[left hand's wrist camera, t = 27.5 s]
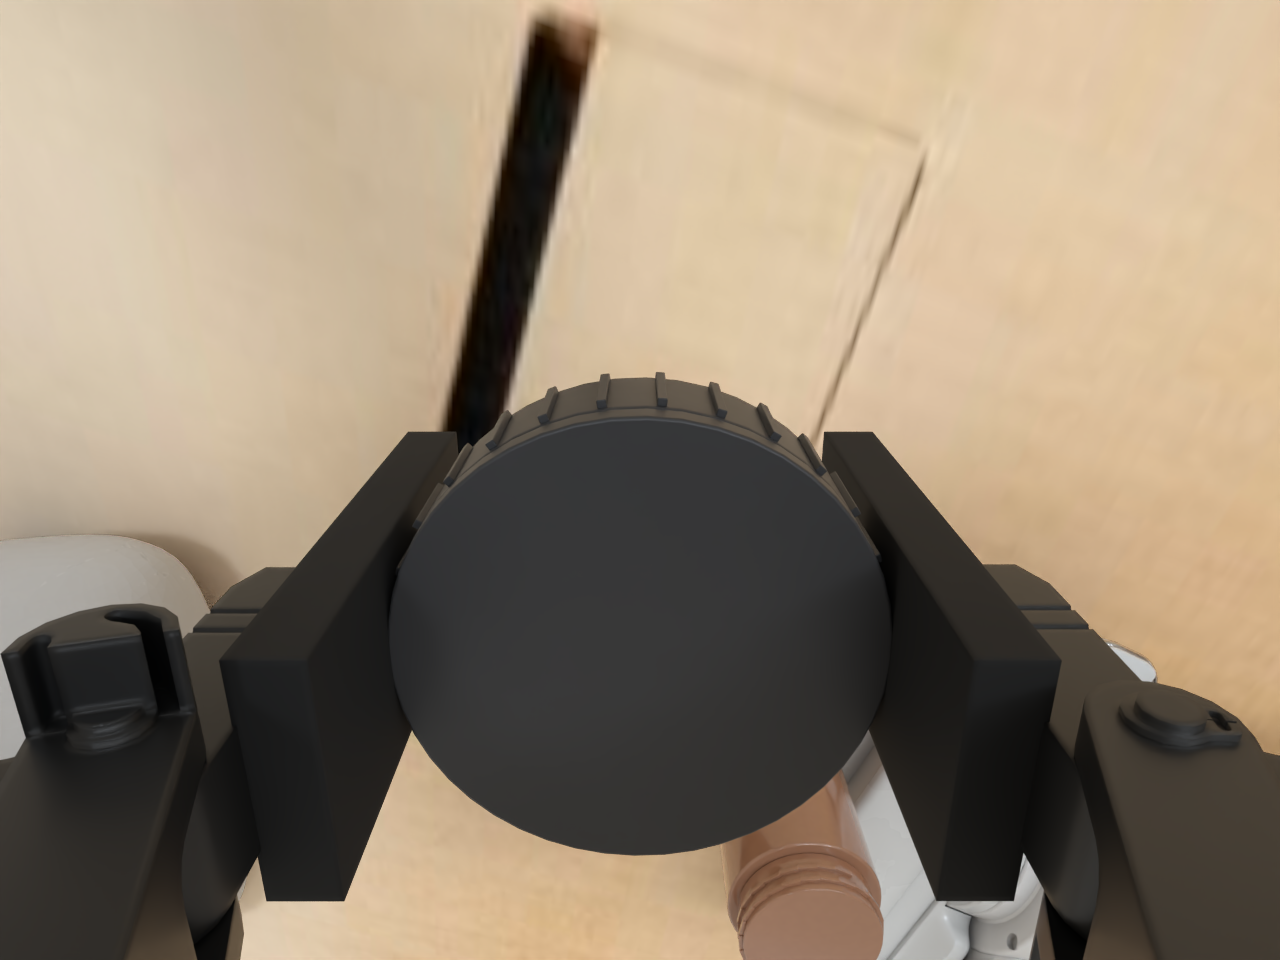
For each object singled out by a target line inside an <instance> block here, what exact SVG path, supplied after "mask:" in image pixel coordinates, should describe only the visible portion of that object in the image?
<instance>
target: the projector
mask: <svg viewBox="0 0 1280 960" xmlns="http://www.w3.org/2000/svg"><path fill="white" fill-rule="evenodd" d="M136 603H143V604H149V605H154V606H160V607H165V608H166V609H168V610H169V611H171V612H172V613H174V614H175V615H176V616H178V620H179V625H180V629H181V634H182V639H183V638H184V637H185V636H186V635H187V634H188V633H192V632H193V627H194V626H195V625H196V624H197V623H198V622H199V621H200V620H201V619H202V618H203V617H204V615H205V614H210V610H209V608H208V605H207V603H206V601H205V599H204V596H203V594H202V592H201V590H200V588H199V587H198V585H197V583H196V582H195V580H194V578H193V576H192V575H191V573H190V572H189V571H188V570H187V568H186V567H185V566H184V565H183V564H182V563H181V562H180V561H179V560H178V559H177V558H176V557H174V556H173V555H171V554H170V553H168V552H167V551H165V550H164V549H162V548H159V547H157V546H155V545H153V544H150V543H147V542H143V541H140V540H137V539H133V538H128V537H122V536H114V535H95V534H81V535H57V536H43V537H31V538H20V539H9V540H2V541H0V760H3V759H8V758H12V757H15V756H16V754H17V752H18V750H19V749H20V747H21V745H22V743H23V742H24V740H25V734H24V731H23V728H22V724H21V721H20V718H19V714H18V711H17V708H16V704H15V701H14V698H13V694H12V691H11V688H10V684H9V681H8V678H7V674H6V671H5V668H4V664H3V661H2V658H1V653H2V652H3V651H4V650H5V649H6V648H7V647H8V646H9V645H11V644H12V643H13V642H14V641H15V640H16V639H17V638H18V637H20V636H22V635H24V634H26V633H27V632H29V631H31V630H33V629H35V628H37V627H39V626H40V625H42V624H44V623H46V622H49V621H52V620H55V619H58V618H61V617H63V616H66V615H69V614H72V613H75V612H78V611H82V610H87V609H92V608H97V607H102V606H107V605H114V604H136ZM246 880H247V877H246V879H245V881H244V882H243V884H242V886H241V888H240V890H239V892H238V893H237V896H238V901H239V900H240V898H241V896H242V893H243V891H244V887H245V884H246Z"/></svg>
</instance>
